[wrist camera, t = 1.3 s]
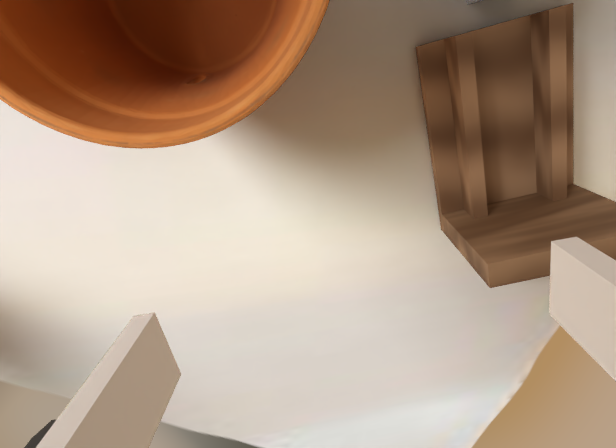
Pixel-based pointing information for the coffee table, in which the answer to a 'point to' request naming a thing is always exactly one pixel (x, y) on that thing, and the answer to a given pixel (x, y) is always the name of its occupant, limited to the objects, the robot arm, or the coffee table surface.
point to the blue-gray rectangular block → (472, 1)
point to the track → (509, 146)
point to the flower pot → (149, 64)
